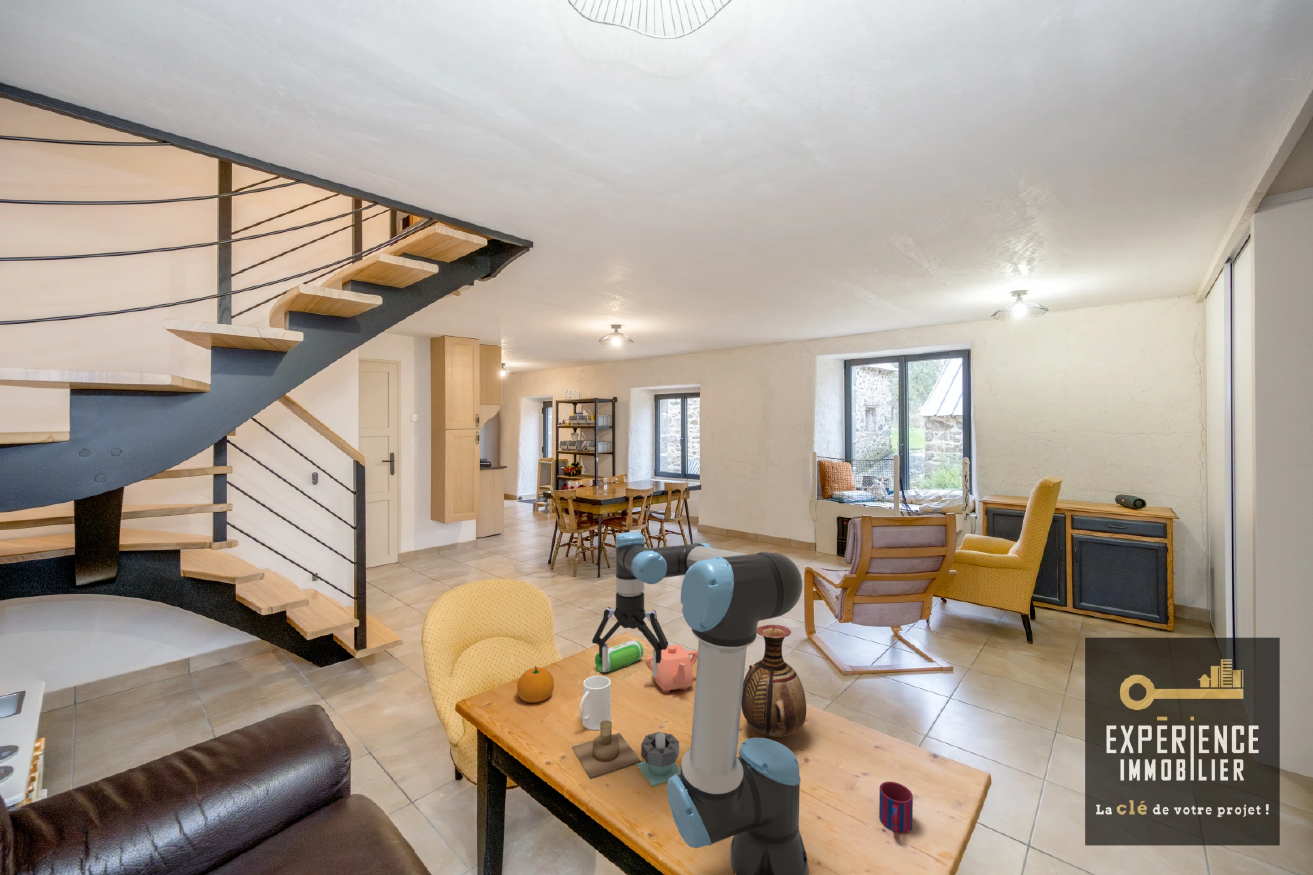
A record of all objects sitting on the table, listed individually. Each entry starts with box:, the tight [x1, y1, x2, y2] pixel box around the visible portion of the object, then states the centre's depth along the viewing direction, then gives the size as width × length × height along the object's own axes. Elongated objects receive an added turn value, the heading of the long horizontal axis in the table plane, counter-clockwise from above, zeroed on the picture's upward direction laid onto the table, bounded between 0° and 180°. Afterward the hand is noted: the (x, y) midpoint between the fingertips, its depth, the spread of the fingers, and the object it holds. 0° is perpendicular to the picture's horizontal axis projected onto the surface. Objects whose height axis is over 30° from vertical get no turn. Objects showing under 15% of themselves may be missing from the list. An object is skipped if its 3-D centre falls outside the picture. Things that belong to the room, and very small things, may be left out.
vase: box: [741, 624, 807, 737], centre depth 148 cm, size 21×18×30 cm
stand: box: [636, 732, 681, 788], centre depth 132 cm, size 9×9×9 cm
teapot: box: [644, 644, 698, 694], centre depth 175 cm, size 17×16×13 cm
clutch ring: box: [640, 731, 680, 767], centre depth 132 cm, size 9×9×3 cm
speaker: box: [594, 640, 644, 673], centre depth 190 cm, size 18×7×8 cm, turn 131°
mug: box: [578, 675, 612, 731], centre depth 152 cm, size 12×8×12 cm
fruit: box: [516, 665, 555, 704], centre depth 167 cm, size 12×12×10 cm
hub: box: [572, 720, 642, 780], centre depth 138 cm, size 14×14×8 cm
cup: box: [878, 781, 914, 834], centre depth 114 cm, size 7×10×7 cm
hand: (630, 672), depth 137 cm, fingers open, 13 cm apart
